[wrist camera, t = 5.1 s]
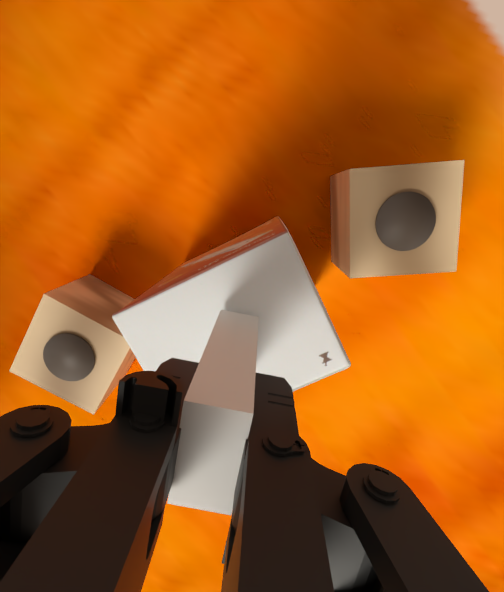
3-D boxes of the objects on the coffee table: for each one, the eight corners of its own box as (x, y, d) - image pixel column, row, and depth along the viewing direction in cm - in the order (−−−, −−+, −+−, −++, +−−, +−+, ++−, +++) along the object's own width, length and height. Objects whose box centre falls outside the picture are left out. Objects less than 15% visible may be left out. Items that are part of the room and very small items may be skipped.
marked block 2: (331, 261, 27) (350, 278, 21) (329, 176, 25) (350, 168, 19) (413, 255, 26) (458, 272, 20) (417, 169, 25) (466, 159, 19)
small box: (278, 213, 26) (291, 226, 13) (313, 291, 27) (357, 369, 14) (179, 262, 27) (105, 316, 14) (218, 334, 28) (182, 441, 16)
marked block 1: (60, 336, 29) (6, 372, 23) (90, 274, 27) (42, 294, 21) (127, 372, 29) (92, 416, 23) (160, 313, 28) (132, 343, 22)
